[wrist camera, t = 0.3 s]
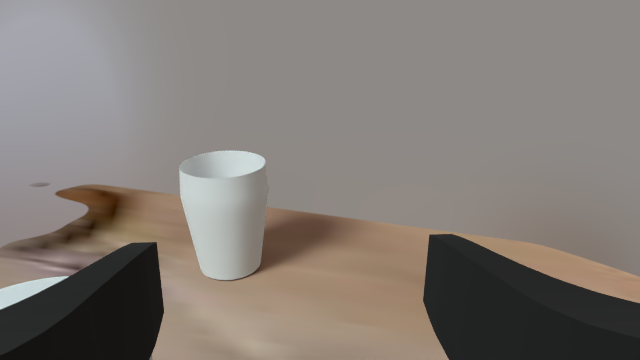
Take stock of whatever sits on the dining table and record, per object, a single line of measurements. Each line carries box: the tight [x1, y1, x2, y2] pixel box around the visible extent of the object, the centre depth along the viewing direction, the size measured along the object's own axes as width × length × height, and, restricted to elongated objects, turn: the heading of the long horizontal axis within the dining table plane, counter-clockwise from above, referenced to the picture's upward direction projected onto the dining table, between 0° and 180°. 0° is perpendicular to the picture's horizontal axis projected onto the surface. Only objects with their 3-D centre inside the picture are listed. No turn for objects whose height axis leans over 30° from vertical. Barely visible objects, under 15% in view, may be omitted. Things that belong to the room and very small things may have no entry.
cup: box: [179, 151, 268, 280], centre depth 48 cm, size 9×9×12 cm
